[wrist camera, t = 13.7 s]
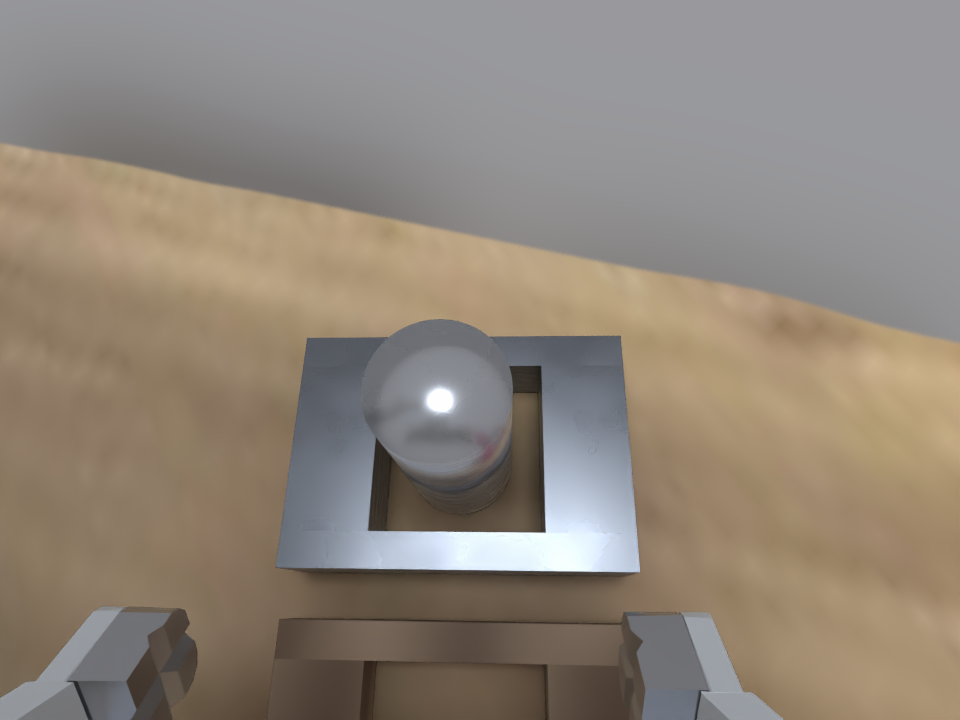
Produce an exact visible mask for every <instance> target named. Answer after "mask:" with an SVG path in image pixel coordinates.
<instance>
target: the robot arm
mask: <svg viewBox="0 0 960 720" xmlns="http://www.w3.org/2000/svg"><path fill="white" fill-rule="evenodd" d="M189 624H190V623H189V620H188V617H187V614H186V611H185V610H183V609H179V608H155V607H114V606H102V607H100V608H98V609H97V610H95V611H93V612H92V614H91V615H90V616H89V617H88V618H87V620H86V621H85V622H84V623H83V624H82V626H81V627H80V628H79V629H78V630H77V632H76V633H75V634H74V635H73V637H72V638H71V639H70V640H69V641H68V643H67V644H66V645H65V646H64V647H63V649H62V650H61V651H60V652H59V653H58V655H57V656H56V657H55V658H54V660H53V661H52V662H51V663H50V664H49V666H48V667H47V668H46V669H45V670H44V672H43V673H42V674H41V675H40V677H39V678H38V679H37V680H36V681H34V682H25V683H24V684H22V685H21V686H19V687H17V688H16V689H14V690H12V691H11V692H9V693H8V694H6V695H4V696H3V697H1V698H0V720H173V719H172V713H171V707H172V706H174V705H175V704H176V703H177V702H179V701H180V700H181V699H183V698H184V697H185V696H186V694H187V692H188V690H189V688H190V686H191V684H192V682H193V680H194V676H195V672H196V668H197V648H196V644H195V641H194V640H193V639H191V638H190V637H189V636H188V635H187V634H186V633H185V630H186V629H187V627H188V625H189ZM621 631H622V635H623V640H624V642H623V643H622V644H621V645H620V646H619V659H618V663H619V680H620V688H621V693H622V699H623V703H624V704H625V706H626V707H627V708H628V709H629V710H630V716H629V720H784V719H783V718H782V717H781V716H779V715H778V714H777V713H776V712H775V711H774V710H772V709H771V708H770V707H769V706H768V705H767V704H765V703H764V702H763V701H762V700H761V699H760V698H758V697H757V696H756V695H755V694H754V693H751V692H744V691H743V689H742V687H741V684H740V682H739V680H738V677H737V675H736V672H735V670H734V668H733V665H732V663H731V661H730V658H729V656H728V653H727V651H726V649H725V646H724V644H723V642H722V639H721V637H720V635H719V632H718V630H717V627H716V625H715V623H714V620H713V618H712V616H711V615H710V614H709V613H708V612H679V613H678V612H624V613H623V616H622V623H621Z"/></svg>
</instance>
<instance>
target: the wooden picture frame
mask: <svg viewBox="0 0 960 720" xmlns="http://www.w3.org/2000/svg"><path fill="white" fill-rule="evenodd" d="M623 642H624V640H623V635H622V631H621V624H614V623H557V622H499V621H442V620H384V619H327V618H291V619H280V620H279V627H278V635H277V642H276V650H275V658H274V665H273V673H272V680H271V688H270V696H269V703H268V711H267V719H266V720H372V714H373V701H374V687H375V673H376V661H407V662H455V663H503V664H545V705H546V720H629V716H630V710H629V709H628V708H627V707H626V706H625V704H624V703H623V699H622V693H621V688H620V680H619V663H618V659H619V646H620V645H621V644H622V643H623Z"/></svg>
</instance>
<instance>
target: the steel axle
mask: <svg viewBox="0 0 960 720" xmlns="http://www.w3.org/2000/svg"><path fill="white" fill-rule="evenodd" d="M361 404H362V410H363V413H364V417H365V419H366V422H367V424H368V426H369V428H370V429H371V431H372V433H373V434H374V435H375V436H376V438H377V439H378V440H379V441H380V443H381V444H382V445H383V446H384V448H385V449H386V450H387V451H388V453H389V454H390V455H391V457H392V458H393V459H394V460H395V462H396V463H397V464H398V465H399V467H400V468H401V469H402V470H403V472H404V473H405V474H406V475H407V477H408V478H409V479H410V480H411V482H412V483H413V484H414V485H415V487H416V488H417V489H418V490H419V492H420V493H421V494H422V495H423V497H424V498H425V499H426V500H427V501H428V502H429V503H430V504H432V505H433V506H435V507H436V508H438V509H440V510H442V511H445V512H448V513H453V514H469V513H474V512H477V511H480V510H482V509H484V508H486V507H488V506H489V505H491V504H492V503H493V502H494V501H495V500H497V498H498V497H499V496H500V495H501V494H502V492H503V491H504V489H505V488H506V485H507V483H508V481H509V478H510V474H511V466H512V409H513V383H512V376H511V371H510V368H509V365H508V362H507V360H506V358H505V356H504V354H503V352H502V351H501V350H500V348H499V347H498V346H497V344H496V343H495V342H494V341H493V340H492V339H491V338H490V337H488V336H487V335H486V334H485V333H483V332H482V331H480V330H478V329H477V328H475V327H473V326H470V325H468V324H465V323H462V322H459V321H453V320H443V319H437V320H427V321H422V322H418V323H415V324H412V325H409V326H407V327H405V328H403V329H401V330H399V331H398V332H396V333H394V334H393V335H392V336H390V337H389V338H388V339H387V340H385V341H384V342H383V343H382V344H381V345H380V346H379V348H378V349H377V350H376V351H375V353H374V354H373V356H372V357H371V359H370V361H369V363H368V365H367V367H366V369H365V372H364V376H363V379H362V385H361Z"/></svg>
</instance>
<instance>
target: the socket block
mask: <svg viewBox="0 0 960 720" xmlns="http://www.w3.org/2000/svg"><path fill="white" fill-rule="evenodd" d="M388 338H389V337H383V338H307V344H306V351H305V358H304V365H303V373H302V380H301V387H300V394H299V402H298V409H297V416H296V423H295V431H294V438H293V445H292V452H291V460H290V467H289V474H288V481H287V489H286V496H285V503H284V510H283V518H282V525H281V532H280V539H279V547H278V554H277V561H276V568H282V569H288V570H295V571H301V572H334V573H408V574H483V575H557V576H627V575H631V574H635V573H639V572H640V565H639V553H638V541H637V528H636V516H635V504H634V492H633V480H632V468H631V456H630V444H629V432H628V420H627V408H626V396H625V384H624V372H623V359H622V347H621V336H527V337H490V338H491V339H492V340H493V341H494V342H495V343H496V344H497V346H498V347H499V348H500V350H501V351H502V352H503V354H504V356H505V358H506V360H507V362H508V365H509V368H510V371H511V376H512V383H513V393H518V392H538V410H539V452H540V495H541V533H513V532H411V531H386V522H387V508H388V494H389V481H390V467H391V455H390V454H389V453H388V451H387V450H386V449H385V448H384V446H383V445H382V444H381V443H380V441H379V440H378V439H377V438H376V436H375V435H374V434H373V433H372V431H371V429H370V428H369V426H368V424H367V422H366V419H365V417H364V413H363V410H362V404H361V385H362V379H363V376H364V372H365V369H366V367H367V365H368V363H369V361H370V359H371V357H372V356H373V354H374V353H375V351H376V350H377V349H378V348H379V346H380V345H381V344H382V343H383V342H384V341H385V340H387V339H388Z"/></svg>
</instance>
